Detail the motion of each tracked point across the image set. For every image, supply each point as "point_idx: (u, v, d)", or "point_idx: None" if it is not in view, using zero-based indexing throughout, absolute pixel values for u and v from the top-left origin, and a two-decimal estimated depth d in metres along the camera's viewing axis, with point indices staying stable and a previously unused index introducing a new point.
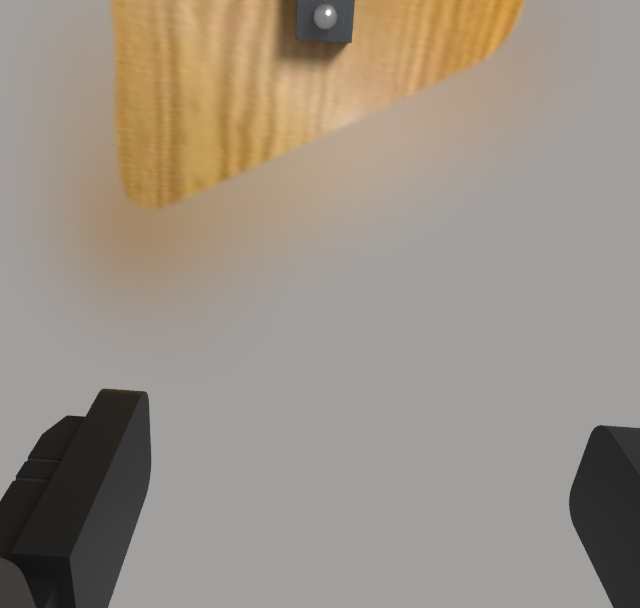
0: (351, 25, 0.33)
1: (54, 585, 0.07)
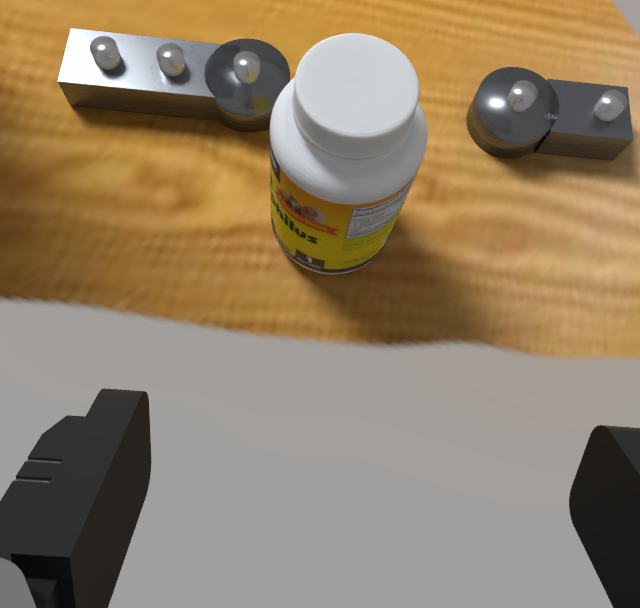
0: (610, 86, 0.30)
1: (54, 585, 0.07)
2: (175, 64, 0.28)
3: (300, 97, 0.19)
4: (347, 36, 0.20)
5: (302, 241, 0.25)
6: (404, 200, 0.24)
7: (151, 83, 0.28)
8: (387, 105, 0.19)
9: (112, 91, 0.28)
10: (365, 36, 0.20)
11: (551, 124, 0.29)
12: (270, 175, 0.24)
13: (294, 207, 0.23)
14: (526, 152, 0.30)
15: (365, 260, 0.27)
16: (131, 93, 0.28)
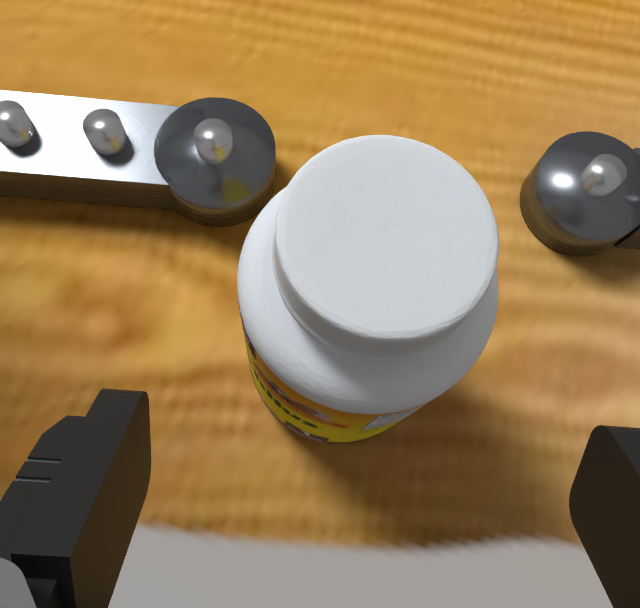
0: None
1: (54, 585, 0.07)
2: (110, 140, 0.19)
3: (285, 262, 0.10)
4: (367, 141, 0.11)
5: (294, 419, 0.16)
6: None
7: (77, 165, 0.20)
8: (444, 272, 0.10)
9: (22, 177, 0.20)
10: (399, 141, 0.11)
11: None
12: None
13: (281, 394, 0.14)
14: (605, 248, 0.22)
15: None
16: (49, 180, 0.20)
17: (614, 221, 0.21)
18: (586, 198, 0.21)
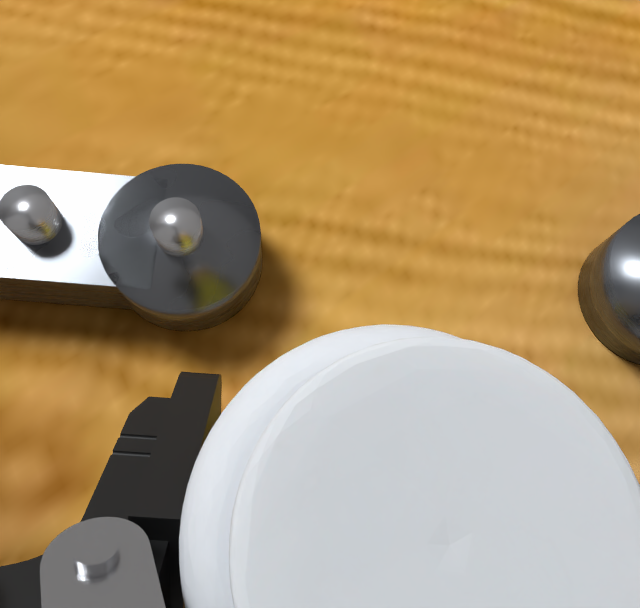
0: None
1: (166, 546, 0.08)
2: (35, 228, 0.14)
3: None
4: (406, 353, 0.06)
5: None
6: None
7: None
8: None
9: None
10: (464, 351, 0.06)
11: None
12: None
13: None
14: None
15: None
16: None
17: None
18: None
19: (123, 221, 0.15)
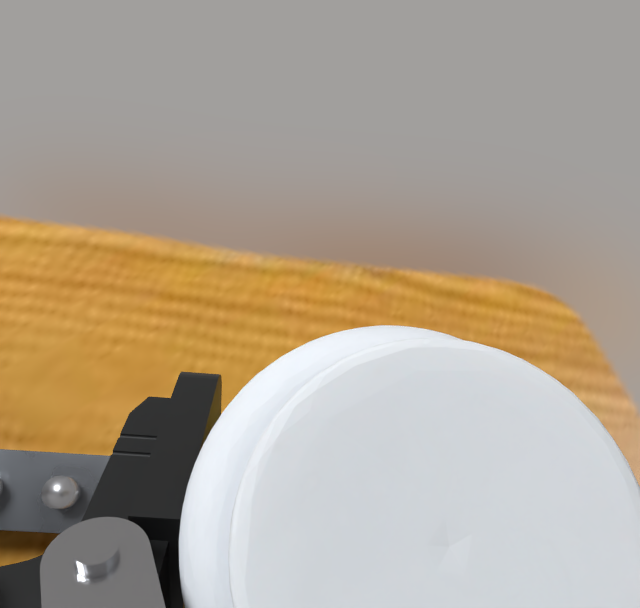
0: None
1: (166, 546, 0.08)
2: (64, 504, 0.23)
3: None
4: (405, 354, 0.06)
5: None
6: None
7: (38, 520, 0.24)
8: None
9: None
10: (464, 352, 0.06)
11: None
12: None
13: None
14: None
15: None
16: None
17: None
18: None
19: None
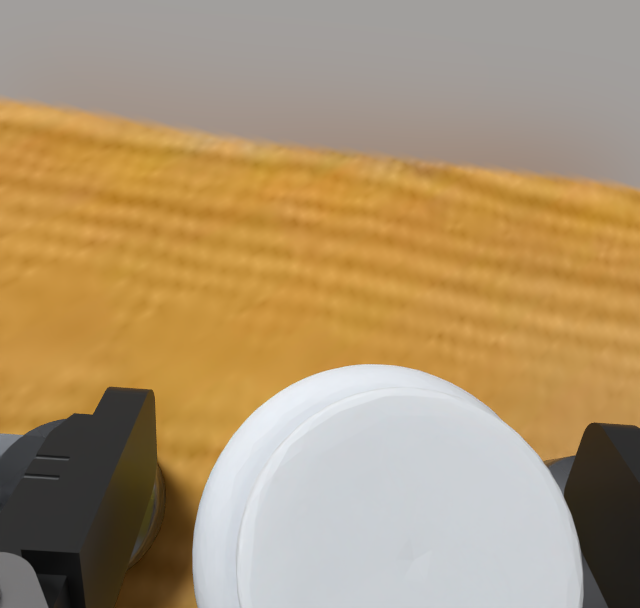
0: None
1: (63, 581, 0.07)
2: None
3: None
4: (380, 402, 0.07)
5: None
6: None
7: None
8: None
9: None
10: (428, 400, 0.07)
11: None
12: None
13: None
14: None
15: None
16: None
17: None
18: (588, 566, 0.15)
19: (7, 489, 0.15)
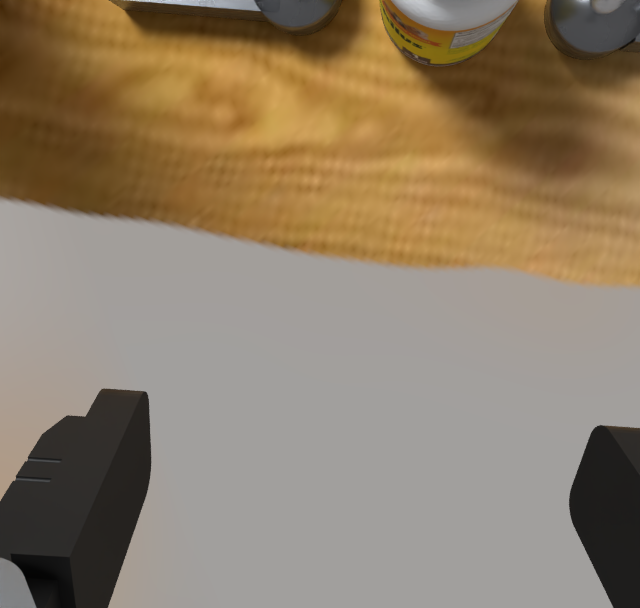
0: None
1: (54, 585, 0.07)
2: None
3: None
4: None
5: (407, 44, 0.25)
6: None
7: None
8: None
9: (159, 5, 0.28)
10: None
11: (638, 31, 0.25)
12: None
13: (398, 21, 0.23)
14: (607, 54, 0.27)
15: (473, 54, 0.27)
16: (178, 6, 0.28)
17: (609, 38, 0.25)
18: (590, 16, 0.25)
19: None
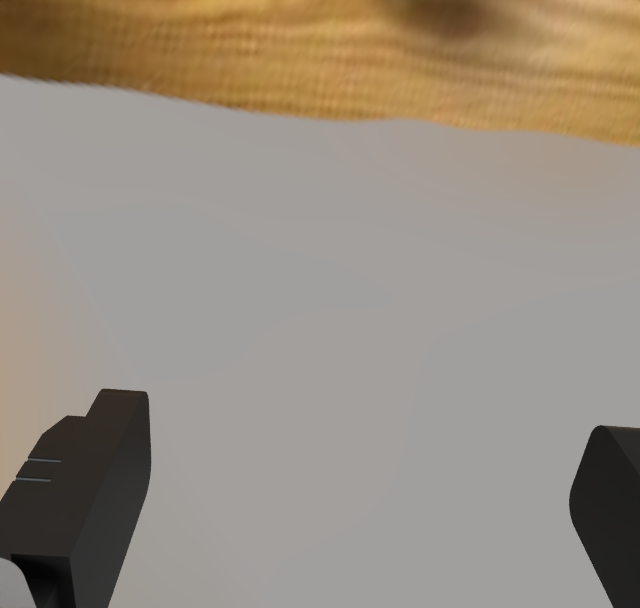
0: None
1: (54, 585, 0.07)
2: None
3: None
4: None
5: None
6: None
7: None
8: None
9: None
10: None
11: None
12: None
13: None
14: None
15: None
16: None
17: None
18: None
19: None
